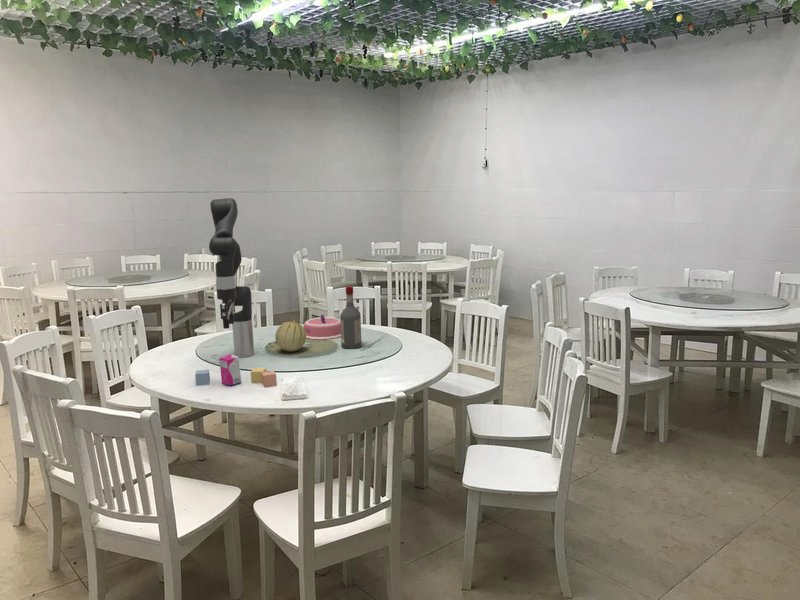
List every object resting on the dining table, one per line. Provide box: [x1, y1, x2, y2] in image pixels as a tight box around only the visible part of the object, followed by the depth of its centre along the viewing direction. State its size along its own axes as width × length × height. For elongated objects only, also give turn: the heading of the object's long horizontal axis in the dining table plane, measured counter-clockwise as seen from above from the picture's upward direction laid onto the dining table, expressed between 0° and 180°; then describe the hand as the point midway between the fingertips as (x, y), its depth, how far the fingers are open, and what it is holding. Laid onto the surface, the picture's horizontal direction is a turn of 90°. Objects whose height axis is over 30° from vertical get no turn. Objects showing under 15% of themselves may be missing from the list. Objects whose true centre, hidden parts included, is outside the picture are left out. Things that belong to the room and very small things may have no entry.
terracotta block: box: [261, 370, 278, 388], centre depth 245 cm, size 5×5×5 cm
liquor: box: [339, 286, 362, 350], centre depth 296 cm, size 9×9×30 cm
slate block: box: [194, 369, 211, 387], centre depth 249 cm, size 5×5×5 cm
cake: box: [303, 314, 341, 341], centre depth 324 cm, size 25×25×11 cm
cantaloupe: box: [274, 319, 307, 353], centre depth 292 cm, size 15×15×15 cm
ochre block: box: [250, 367, 267, 384], centre depth 250 cm, size 5×5×5 cm
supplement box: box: [218, 354, 242, 388], centre depth 246 cm, size 6×6×12 cm
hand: (228, 326), depth 247 cm, fingers open, 8 cm apart
